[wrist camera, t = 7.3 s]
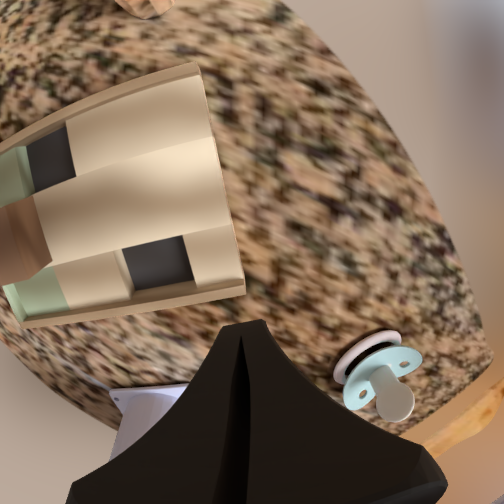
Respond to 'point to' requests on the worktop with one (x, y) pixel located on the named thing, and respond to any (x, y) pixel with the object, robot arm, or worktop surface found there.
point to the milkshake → (146, 7)
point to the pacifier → (379, 376)
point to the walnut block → (21, 242)
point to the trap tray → (124, 203)
